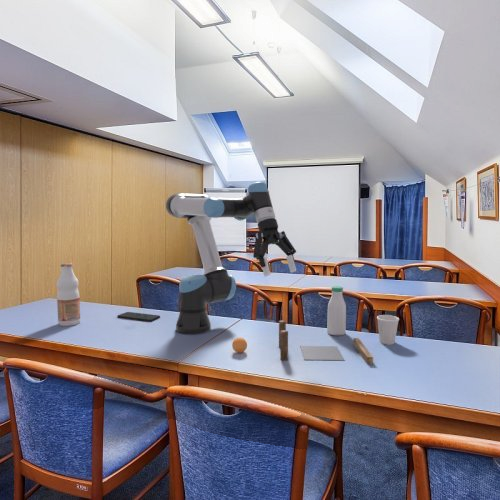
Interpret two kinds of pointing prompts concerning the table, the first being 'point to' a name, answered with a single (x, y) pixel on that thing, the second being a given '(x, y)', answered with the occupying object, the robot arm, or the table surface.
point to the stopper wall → (363, 351)
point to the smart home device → (138, 316)
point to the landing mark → (321, 353)
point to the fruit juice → (68, 297)
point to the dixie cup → (387, 328)
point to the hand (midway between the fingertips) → (281, 273)
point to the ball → (239, 345)
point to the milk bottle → (336, 313)
